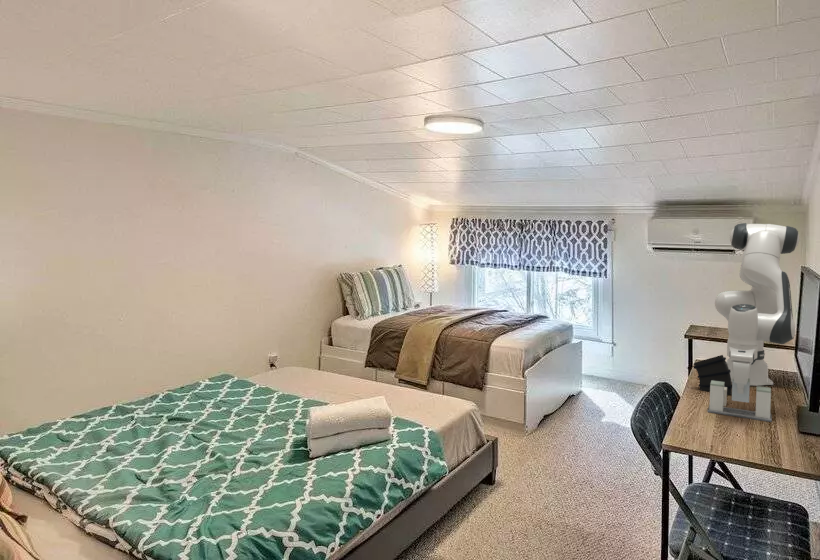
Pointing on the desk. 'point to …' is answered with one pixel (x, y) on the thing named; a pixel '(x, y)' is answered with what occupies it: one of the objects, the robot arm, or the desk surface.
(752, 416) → the rail plate
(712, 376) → the black ridged block
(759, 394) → the block
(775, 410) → the desk surface
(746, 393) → the block
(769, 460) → the desk surface
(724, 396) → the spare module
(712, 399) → the block
